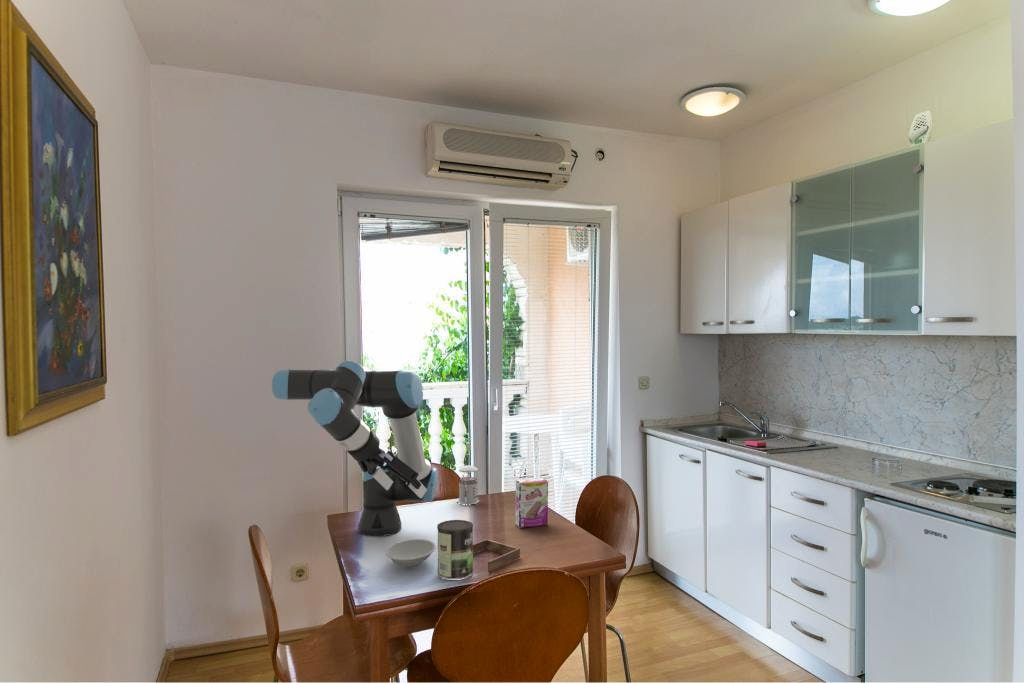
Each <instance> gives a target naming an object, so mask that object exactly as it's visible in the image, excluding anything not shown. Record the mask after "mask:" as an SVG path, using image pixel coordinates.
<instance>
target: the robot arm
mask: <svg viewBox="0 0 1024 683" xmlns="http://www.w3.org/2000/svg"><path fill="white" fill-rule="evenodd" d="M271 380H272V381H271V391H272V392H271V393H272V394H273V396H274V398H276V399H277V400H284V401H285V400H286V401H296V400H297V401H308V404H307V411H308V413H309V414H310V415H311V416H312V418H313V419H314V421H315V422H316V423H317V424H318V425H320V426H321V428H323V429H324V430H325V431H326V432H327V434H329V435H330V436H331V437H332V438H333V439H334V440H335V441H336V442H337V443H339V446H338V447H339V448H341V449H342V448H343V449H344V450H345V451H346V452H347V453H348V455H350V456H351V457H352V458H353V459H354V460H355V461H356V463H358V465H359V467H360V469H361V470H362V472H363V473H362V475H363V476H362V512H361V514H360V518H359V522H358V523H357V532H358V533H359V534H360V535H363V536H366V537H383V536H384V535H385V536H389V534H390V535H393V533H394V534H397V533H398V532H400V531H401V530H402V520H401V517H400V514H399V510H398V508H397V502H413V503H423V502H424V503H428V502H431V501H433V500H434V499H435V497H436V493H437V490H438V489H437V488H438V482H439V470H438V468H436V467H432V465H431V463H430V461H429V460H428V459H426V458H425V453H424V452H425V451H424V446H423V442H422V438H421V437H422V436H421V432H420V427H419V422H418V418H417V417H418V416H417V411H419V407H421V406H422V403H423V400H424V393H423V390H424V389H423V388H424V387H423V384H422V379H421V378H420V376H419V374H418V373H417V372H415V371H413V370H405V369H399V370H389V369H388V370H387V369H385V370H383V369H382V370H381V369H380V370H379V369H378V370H376V369H375V370H374V369H370V370H369V369H367V370H365V368H364V367H363V366H362V365H361V364H360V363H359V362H357V361H354V360H343V361H342V362H340V363H339V364H338V366H336V368H335V369H279V370H278V371H276V372H275V373H274V375H273V376H272V379H271ZM355 406H359V407H360V406H361V407H364V408H365V407H366V408H381V409H382V412H383V415H384V416H385V417H386V418H387V419H389V422H390V425H391V430H392V435H393V439H394V443H395V448H396V452H397V456H396V455H395V454H394V453H393V452H392V451H390V450H387V452H385V450H383V449H382V448H380V443H381V442H380V439H379V437H378V436H377V435H376V434H375V433H374V432H373V430H371V429H370V427H369V426H368V425H367V423H365V422H364V420H362V419H361V418H360V417H359V415H358V414H357V413H356V412H355V410H354V409H355Z"/></svg>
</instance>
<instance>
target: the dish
mask: <svg viewBox="0 0 1024 683" xmlns="http://www.w3.org/2000/svg"><path fill="white" fill-rule="evenodd" d="M436 548H437V546H436V543H435V542H433V541H432V540H430V539H424V538H409V539H403V540H400V541H398V542H395V543H393V544H391V545H389V546H388V547H387V548H386V550H385V556H386V557H387V558H389V560H391V561H392V562H393V563H395V564H396V565H399V566H401V567H413V566H417V565H420V564H422V563H423V562H425V561H427V559H428V558H429V557H430V556H431V555H432V553H434V552H435V550H436Z"/></svg>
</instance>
